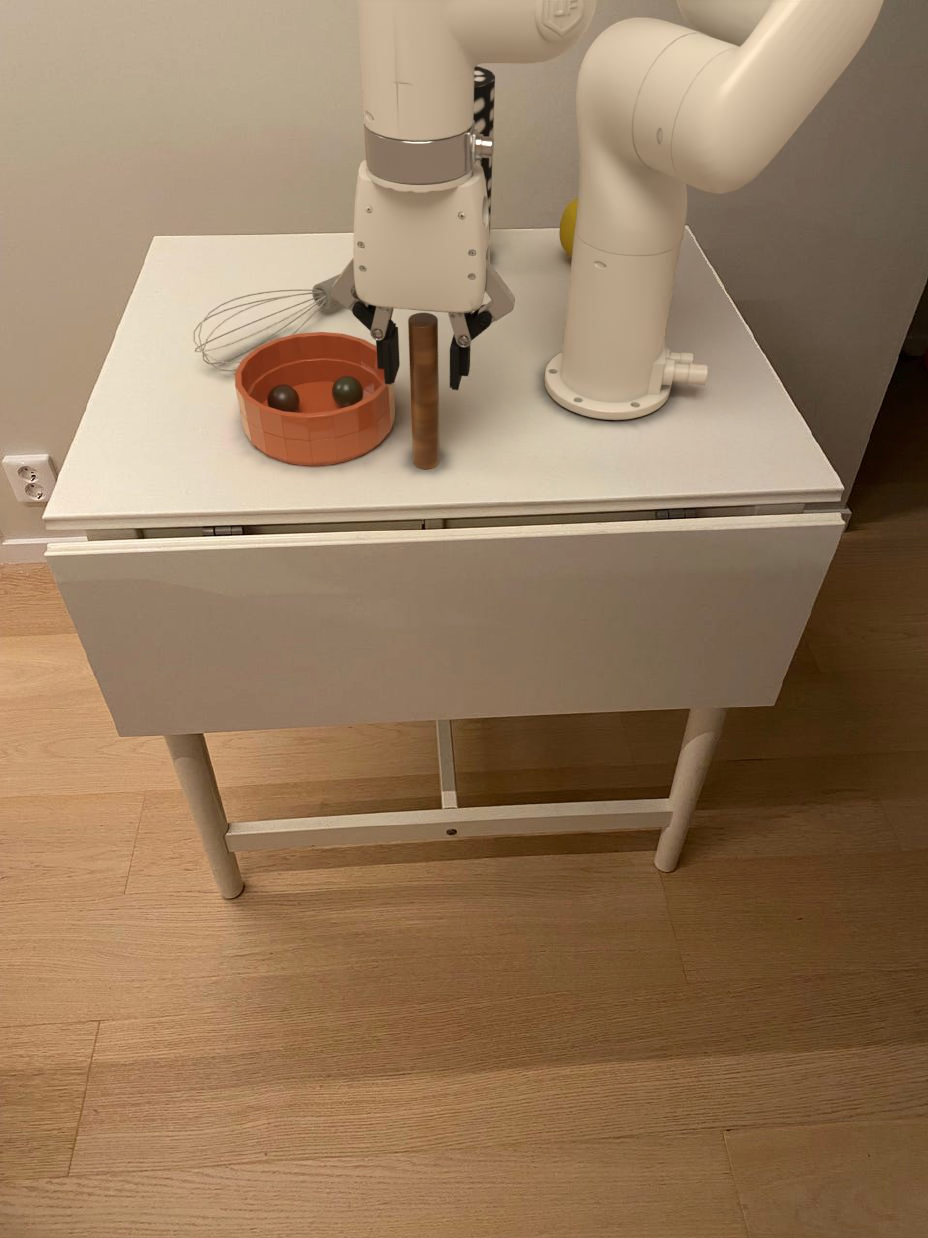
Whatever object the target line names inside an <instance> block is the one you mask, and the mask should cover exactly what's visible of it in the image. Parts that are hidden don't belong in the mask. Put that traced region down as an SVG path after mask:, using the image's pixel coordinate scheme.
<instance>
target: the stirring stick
mask: <svg viewBox="0 0 928 1238" xmlns="http://www.w3.org/2000/svg"><path fill="white" fill-rule="evenodd" d="M407 327H408V329H407V331H408V356H409V384H410V385H409V386H410V413H411V416H410V417H411V443H412V444H411V445H412V463H413V465H414V466H415V467H416V468H418V469H421V470H430V469H431V470H432V469H434V468H436V467H437V466H438V465H439V463H440V401H439V400H440V391H439V389H440V385H439V383H440V382H439V379H440V378H439V375H440V374H439V319H438V317H437V316H436V315H435V314H433V313H430V312H417V313H413V314H412V315H410V316H409V317H408V319H407Z"/></svg>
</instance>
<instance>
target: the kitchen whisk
mask: <svg viewBox="0 0 928 1238" xmlns="http://www.w3.org/2000/svg"><path fill="white" fill-rule="evenodd" d="M340 275H341V273H338V274H337V275H334V276H332V277H329V278H327V279H325V280H323V281H321V282H318V283H316V284H314V285H313V287H312V289H309V288H307V289H306V288H305V289H297V288H296V289H278V290H268V291H261V292H256V293H250V294H246V295H242V296H239V297H235V298H232V299H230V300H228V301H225V302H223V303H221V304H219V305H218V306H215V307H214V308H213V309H212V310H210V311H209V312H208V313H207V314H206V316H204V318H203V320H202V321H201V322H199V323H198V324H197V326H196V327H195V328H194V330H193V333H192V334H193V335H192V337H193V340H192V341H193V343H194V344H195V345H196V347H195V349H194V353H202V361H203V362H204V363H206V364H207V365H210V366H211V367H213V368H215V369H216V370H218V371H221V372H229V373H231V372H232V373H233V372H235V371H236V370H237V368H236V369H221V368H219V367H217V366H216V365H219V364H222V363H223V364H240V363H241V361H242V360H241V361H230V360H233V359H234V358H237V357H239V356H241V355H244V354H245V353H247V352H248V351H250V350H252V349H254V348H255V347H256V348H257V347H258V346H260V345H261V344H262V343H263V342H265V341H267V340H268V339H270V338H272V337H273V336H275V335H276V334H277V333H279V332H281V331H282V330H284V329H285V328H287V327H288V326H289V325H291V324H292V323H294V322H295V321H297V320H298V319H299V318H301V317H302V316H304V315H305V314H306V313H308V312H310V310H312V309H313V308H315V307H316V306H318V307H317V308H316V310H315V311H314V312H313V313H312V314H311V315H310V316H309V317H308V318H307V319H306V320H305V321H304V322H303V323H302V324H301V325H300V326H299V327H298V328H296V329H295V330H294V331H293V332H292V333H290V335H294V334H297V332H298V331H299V330H301V329H302V327H303V326H304V325H306V324H307V322H309V321H310V320H311V318H313V317H314V315H316V313H317V312H318V311H319V310H320V309H322V310H327V309H329V308H331V307H333V306H336V305H337V304H340V303H339V302H338V301H336V300H335V299H334V298H333V297H332V296H331V294H330V291H331V289H332V287H333V285H334V283H335V281H336V280H337V278H338V277H339V276H340ZM354 286H355V285H354ZM307 291H308V292H307ZM280 292H303V293H297V294H288V295H282V296H276V297H270V298H265V299H260V300H255V301H250V302H247V303H242V304H239V305H235V306H232V307H228V308H226V309H223V310H221V311H218V312H216V313H214V314H211V313H212V312H214V311H216V310H217V309H219V308H220V307H221V306H224V305H227V304H229V303H231V302H233V301H236V300H240V299H244V298H247V297H251V296H256V295H264V294H270V293H280ZM305 295H312V298H310V299H306V300H304V301H302V302H299V303H297V304H293V305H291V306H289V307H286V308H284V309H282V310H279V311H276V312H273V313H271V314H269V315H266V316H264V317H261V318H258V319H256V320H253V321H251V322H249V323H246V324H244V325H242V326H239V327H237V328H234V329H232V330H229V331H228V332H225V333H223V334H221V335H218V336H216V337H213V338H212V339H210V340H209V338H210V337H211V336H212V335H213V333H214V332H215V331H216V330H217V329H218V328H219V327H221V326H222V325H223V324H224V323H226V321H228V320H230V319H232V318H233V317H235V316H237V315H239V314H241V313H242V312H245V311H247V310H250V309H252V308H254V307H258V306H261V305H263V304H266V303H269V302H274V301H277V300H281V299H286V298H291V297H297V296H305ZM313 300H314V301H313ZM311 301H313V302H311ZM307 302H311V303H310V304H308V305H306V306H305V307H303V308H301V309H299V310H297V311H295V312H294V313H292V314H290V315H288V316H286V317H284V318H283V319H280V320H279V321H277V322H275V323H273V324H271V325H269V326H267V327H265V328H262V329H260V330H258V331H256V332H254V333H251V334H249V335H247V336H245V337H241V338H240V339H238V340H235V341H232V342H229V343H227V344H224V345H220V346H217V347H215V348H209V349H206V345H207V344H209V343H211V342H213V341H215V340H217V339H220V338H221V337H224V336H226V335H229V334H231V333H233V332H235V331H238V330H240V329H243V328H245V327H248V326H250V325H252V324H255V323H257V322H260V321H262V320H265V319H268V318H269V317H272V316H275V315H277V314H280V313H282V312H285V311H287V310H290V309H293V308H295V307H297V306H300V305H303V304H306V303H307ZM255 303H256V304H255ZM251 304H253V305H251ZM248 305H250V306H249V307H246V308H244V309H242V310H239V311H237V312H235V313H234V314H232V315H230V316H229V317H227V318H225V319H224V320H223V321H221V322H220V323H219V324H218V325H217V326H215V327H214V328H213V330H212V331H211V332H210V333H209V334H208V336H207V338H206V339H205V342H204V343H202V341H201V332H202V327H203V324H204V323H205V322H206V321H208V320H209V319H210V318H212V317H214V316H217V315H219V314H221V313H224V312H226V311H230V310H233V309H237V308H239V307H243V306H248ZM307 308H308V309H307ZM306 309H307V310H306ZM304 310H305V311H304ZM302 311H304V312H303V313H301V314H300V315H298V316H297V317H296V318H294V319H293V320H291V321H290V322H289V323H287V324H285V325H284V326H283V327H281V328H280V329H278V330H277V331H275V332H274V333H272V334H271V335H269V336H268V337H266V338H265V339H262V340H261V341H260V342H258V343H257V344H255V345H253V346H251V347H249V348H248V349H246V350H244V351H242V352H241V353H238V354H236V355H234V356H232V357H230V358H227V359H225V360H219V359H216V358H213V357H212V356H211V355H209V354H208V353H206V352H211V351H214V350H218V349H222V348H225V347H228V346H230V345H233V344H235V343H239V342H241V341H243V340H245V339H248V338H250V337H252V336H255V335H256V334H259V333H262V332H263V331H266V330H268V329H270V328H271V327H274V326H275V325H278V324H280V323H281V322H284V321H285V320H287V319H289V318H291V317H293V316H295V315H297V314H298V313H300V312H302ZM210 314H211V315H210ZM198 328H199V330H198ZM197 330H198V334H197V338H198V342H199V344H198V343H197V341H196V331H197ZM198 349H199V350H198ZM209 359H211V360H212V361H215V362H211V361H210V360H209Z"/></svg>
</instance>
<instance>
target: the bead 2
mask: <svg viewBox="0 0 928 1238" xmlns="http://www.w3.org/2000/svg"><path fill="white" fill-rule="evenodd" d="M332 397H333V399H334V401H335V402H336V403H337V404H338V405H339V406H341V407H343V408H345V407H348V406H352V405H354V404H356V403H358V402H360V401H361V400H362V398H363V387H362V385H361V383H360V382H359V381H358V380H357V379H356V378H354V377H351V376H343V377H340V378H339V379H337V380H336V381H335V383H334V384H333V387H332Z"/></svg>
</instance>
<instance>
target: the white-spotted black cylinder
mask: <svg viewBox="0 0 928 1238" xmlns="http://www.w3.org/2000/svg"><path fill="white" fill-rule="evenodd" d="M495 90H496V75H495V73H494V72H493V71H491V70H489V69H487V68H485V67H482V66H478V65H477V66H476V67H475V68H474V113H473V120H475V129H478V134H483V136H485V137H494V126H495V125H494V122H495V121H494V120H495V93H496V91H495ZM476 163H477V164H479V165H481V166H482V168H483V171H484V176H485V182H486V189H487V198H488V210H489V230H490V231H491V215H492V212H491V211H492V183H493V182H492V181H493V157H492V158H482V160H479V159H477V160H476Z"/></svg>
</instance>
